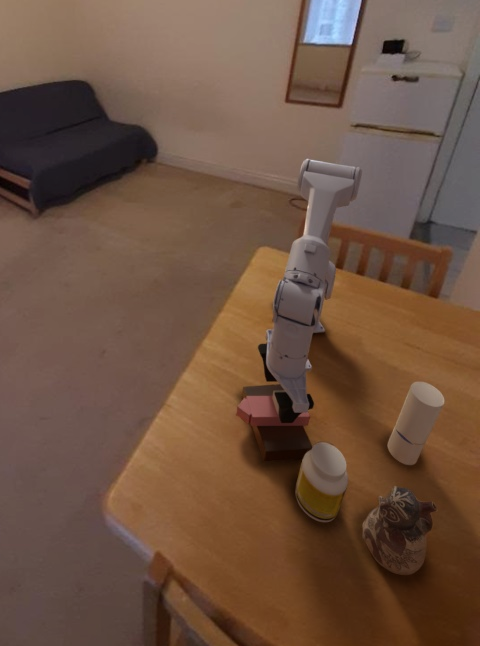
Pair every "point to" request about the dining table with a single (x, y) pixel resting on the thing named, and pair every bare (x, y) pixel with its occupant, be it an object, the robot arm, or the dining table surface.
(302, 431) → the walnut block
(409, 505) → the figurine
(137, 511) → the dining table surface
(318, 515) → the pill bottle
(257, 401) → the boat
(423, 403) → the tube
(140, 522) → the dining table surface
